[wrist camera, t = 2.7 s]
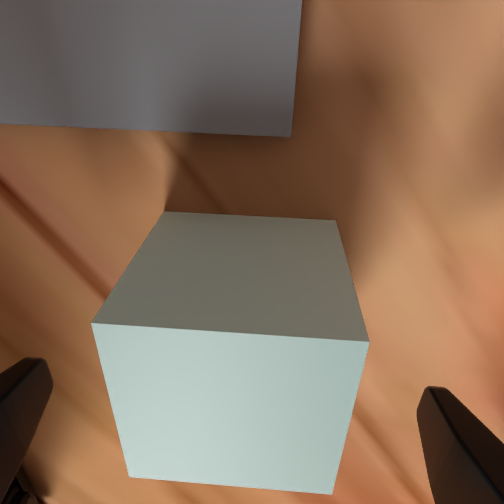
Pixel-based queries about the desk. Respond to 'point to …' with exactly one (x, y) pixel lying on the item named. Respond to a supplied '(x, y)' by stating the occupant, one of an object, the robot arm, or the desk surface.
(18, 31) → the rubber mat
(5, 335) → the desk surface
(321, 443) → the cube
